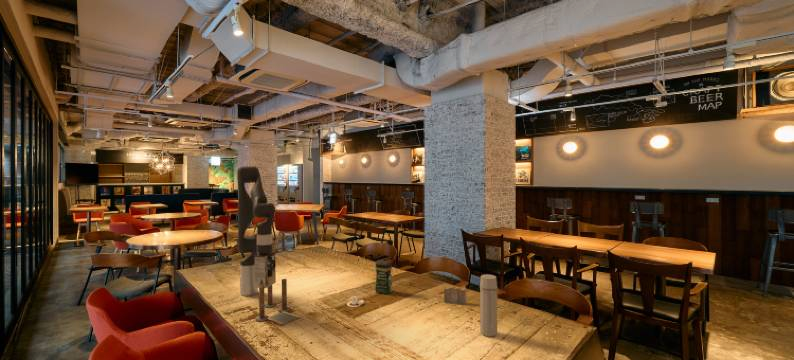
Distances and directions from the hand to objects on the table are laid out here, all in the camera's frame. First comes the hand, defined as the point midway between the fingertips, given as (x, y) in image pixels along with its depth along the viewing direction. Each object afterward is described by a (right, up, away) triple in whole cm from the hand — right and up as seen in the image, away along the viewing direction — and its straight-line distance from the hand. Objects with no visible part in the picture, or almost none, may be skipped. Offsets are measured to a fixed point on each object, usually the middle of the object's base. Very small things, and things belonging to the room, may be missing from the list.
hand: (265, 275), depth 180 cm
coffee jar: (+59, -18, +30) cm, 68 cm away
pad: (+11, -19, -8) cm, 24 cm away
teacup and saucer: (+45, -19, +8) cm, 50 cm away
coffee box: (0, -5, 0) cm, 5 cm away
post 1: (+1, -19, -8) cm, 21 cm away
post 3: (+9, -19, +2) cm, 21 cm away
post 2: (-1, -19, +9) cm, 21 cm away
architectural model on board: (+98, -19, +12) cm, 100 cm away
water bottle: (+106, -19, -26) cm, 111 cm away
